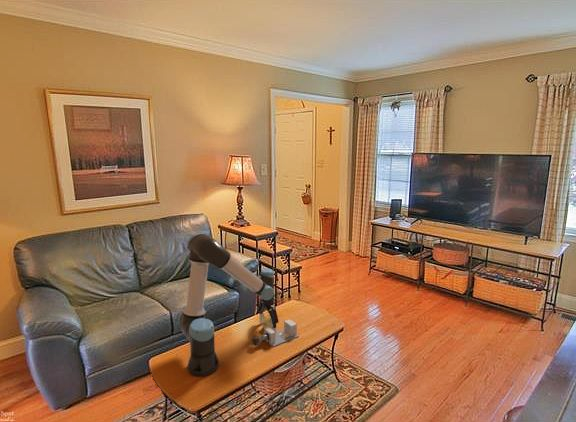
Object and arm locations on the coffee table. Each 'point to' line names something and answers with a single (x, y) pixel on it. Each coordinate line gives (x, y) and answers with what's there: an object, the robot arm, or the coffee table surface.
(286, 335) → the grey bench vise
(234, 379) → the coffee table surface
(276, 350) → the coffee table surface
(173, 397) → the coffee table surface
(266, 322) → the spacer
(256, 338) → the shaft
